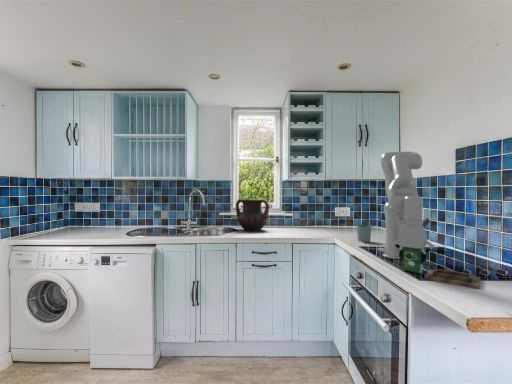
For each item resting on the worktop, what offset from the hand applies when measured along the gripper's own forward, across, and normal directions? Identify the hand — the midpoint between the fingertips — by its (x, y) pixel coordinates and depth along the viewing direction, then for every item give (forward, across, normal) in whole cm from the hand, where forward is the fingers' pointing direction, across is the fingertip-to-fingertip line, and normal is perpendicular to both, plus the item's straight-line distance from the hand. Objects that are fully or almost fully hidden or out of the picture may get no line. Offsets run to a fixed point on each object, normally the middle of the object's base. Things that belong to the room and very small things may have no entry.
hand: (412, 260), depth 128 cm
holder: (+5, +15, 0) cm, 16 cm away
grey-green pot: (+7, -45, +62) cm, 77 cm away
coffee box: (+5, 0, 0) cm, 5 cm away
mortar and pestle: (+7, -10, +64) cm, 65 cm away
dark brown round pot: (+8, -143, +48) cm, 151 cm away
